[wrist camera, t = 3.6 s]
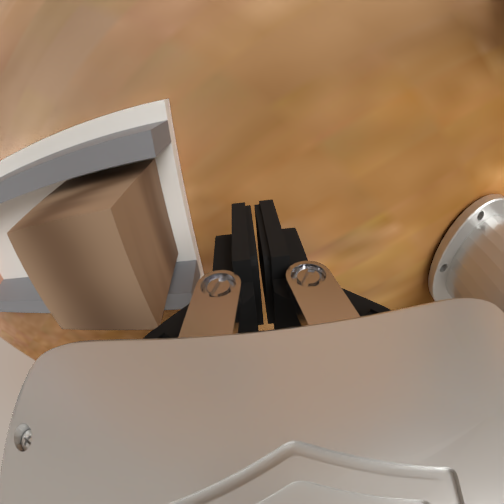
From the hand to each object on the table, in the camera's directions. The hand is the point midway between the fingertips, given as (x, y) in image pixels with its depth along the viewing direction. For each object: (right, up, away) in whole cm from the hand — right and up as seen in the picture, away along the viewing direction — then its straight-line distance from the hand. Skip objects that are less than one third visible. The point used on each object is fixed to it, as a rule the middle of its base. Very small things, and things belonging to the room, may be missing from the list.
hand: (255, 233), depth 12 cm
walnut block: (-8, +1, +3) cm, 9 cm away
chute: (-14, +1, +4) cm, 15 cm away
